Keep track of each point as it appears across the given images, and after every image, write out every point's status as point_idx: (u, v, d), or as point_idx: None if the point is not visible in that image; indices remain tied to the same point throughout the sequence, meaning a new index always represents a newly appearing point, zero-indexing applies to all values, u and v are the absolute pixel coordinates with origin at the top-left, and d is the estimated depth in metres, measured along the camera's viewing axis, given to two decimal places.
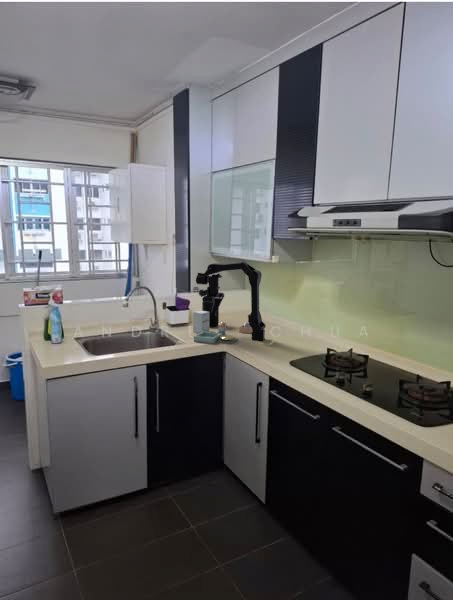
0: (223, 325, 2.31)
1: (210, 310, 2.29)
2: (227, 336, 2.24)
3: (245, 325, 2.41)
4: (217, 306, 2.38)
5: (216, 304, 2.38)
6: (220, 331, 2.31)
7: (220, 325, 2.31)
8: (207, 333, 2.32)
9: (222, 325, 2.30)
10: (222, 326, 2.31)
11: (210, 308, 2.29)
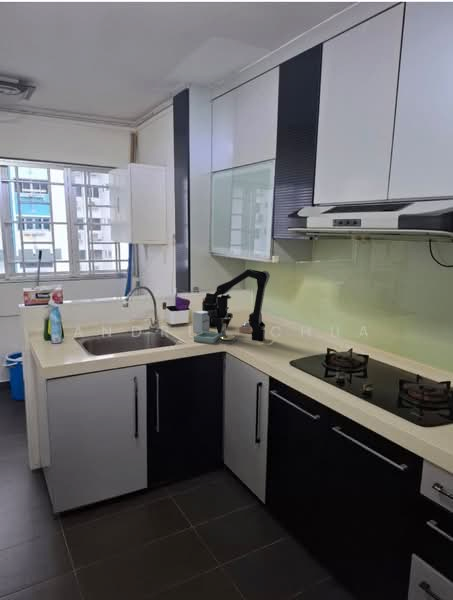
0: (223, 325, 2.31)
1: (219, 331, 2.28)
2: (227, 336, 2.24)
3: (245, 325, 2.41)
4: None
5: None
6: None
7: None
8: (207, 333, 2.32)
9: None
10: None
11: (219, 329, 2.28)
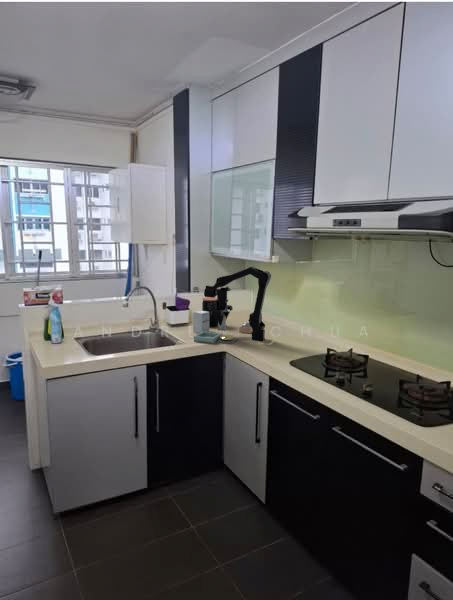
0: None
1: (220, 323, 2.29)
2: (227, 336, 2.24)
3: (245, 325, 2.41)
4: None
5: None
6: None
7: None
8: (207, 333, 2.32)
9: None
10: None
11: (220, 321, 2.29)
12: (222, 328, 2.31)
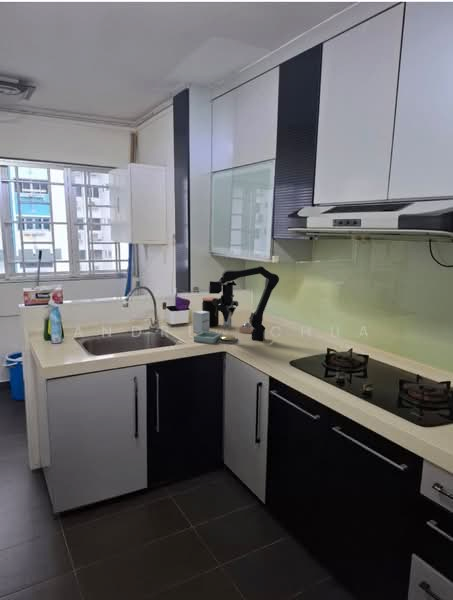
0: None
1: (226, 319, 2.19)
2: (227, 336, 2.24)
3: (245, 325, 2.41)
4: None
5: None
6: None
7: None
8: (207, 333, 2.32)
9: None
10: None
11: (226, 317, 2.19)
12: (228, 325, 2.20)
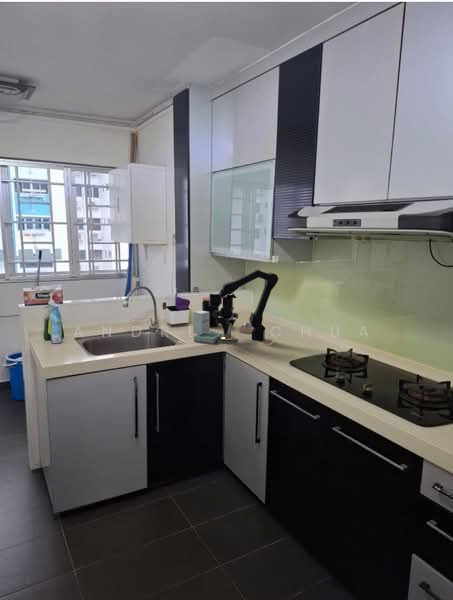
0: None
1: (225, 331, 2.20)
2: None
3: (245, 325, 2.41)
4: None
5: None
6: None
7: None
8: (207, 333, 2.32)
9: None
10: None
11: (225, 329, 2.20)
12: (228, 336, 2.21)
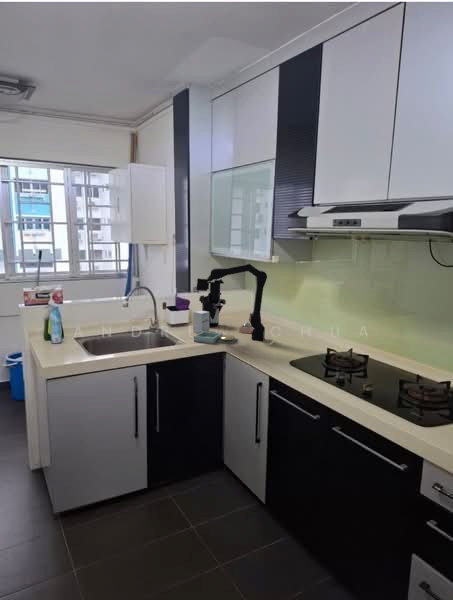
0: None
1: (212, 317, 2.20)
2: (227, 336, 2.24)
3: (245, 325, 2.41)
4: None
5: None
6: None
7: None
8: (207, 333, 2.32)
9: None
10: None
11: (212, 314, 2.20)
12: (214, 321, 2.21)
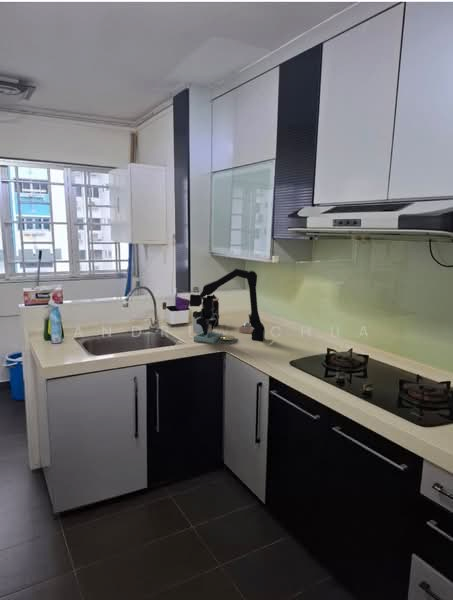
0: None
1: (205, 332, 2.21)
2: (227, 336, 2.24)
3: (245, 325, 2.41)
4: None
5: None
6: None
7: None
8: None
9: None
10: None
11: (205, 330, 2.21)
12: (208, 337, 2.24)
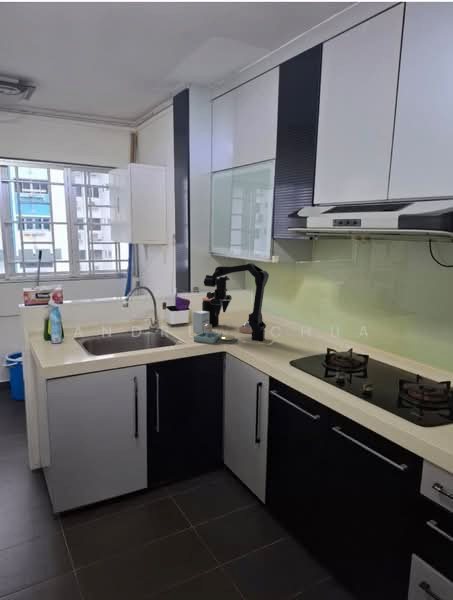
0: (209, 326, 2.23)
1: (218, 312, 2.30)
2: (227, 336, 2.24)
3: (245, 325, 2.41)
4: (224, 308, 2.39)
5: (223, 306, 2.39)
6: (206, 333, 2.24)
7: (205, 327, 2.23)
8: None
9: (207, 327, 2.23)
10: (207, 328, 2.23)
11: (218, 310, 2.30)
12: (208, 337, 2.24)
